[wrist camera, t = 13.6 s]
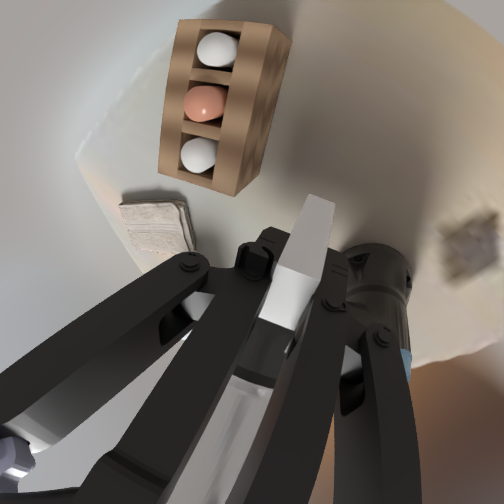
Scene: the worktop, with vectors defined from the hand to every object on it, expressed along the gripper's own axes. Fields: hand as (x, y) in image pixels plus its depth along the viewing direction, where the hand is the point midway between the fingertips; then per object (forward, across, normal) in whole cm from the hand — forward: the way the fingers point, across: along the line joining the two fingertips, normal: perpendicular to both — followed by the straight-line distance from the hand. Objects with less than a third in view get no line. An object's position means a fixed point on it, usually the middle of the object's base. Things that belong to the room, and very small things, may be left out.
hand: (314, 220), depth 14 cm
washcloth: (+27, +29, +26) cm, 47 cm away
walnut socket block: (+26, +16, -2) cm, 31 cm away
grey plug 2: (+25, +16, +5) cm, 30 cm away
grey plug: (+25, +16, -9) cm, 31 cm away
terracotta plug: (+24, +16, -2) cm, 29 cm away
